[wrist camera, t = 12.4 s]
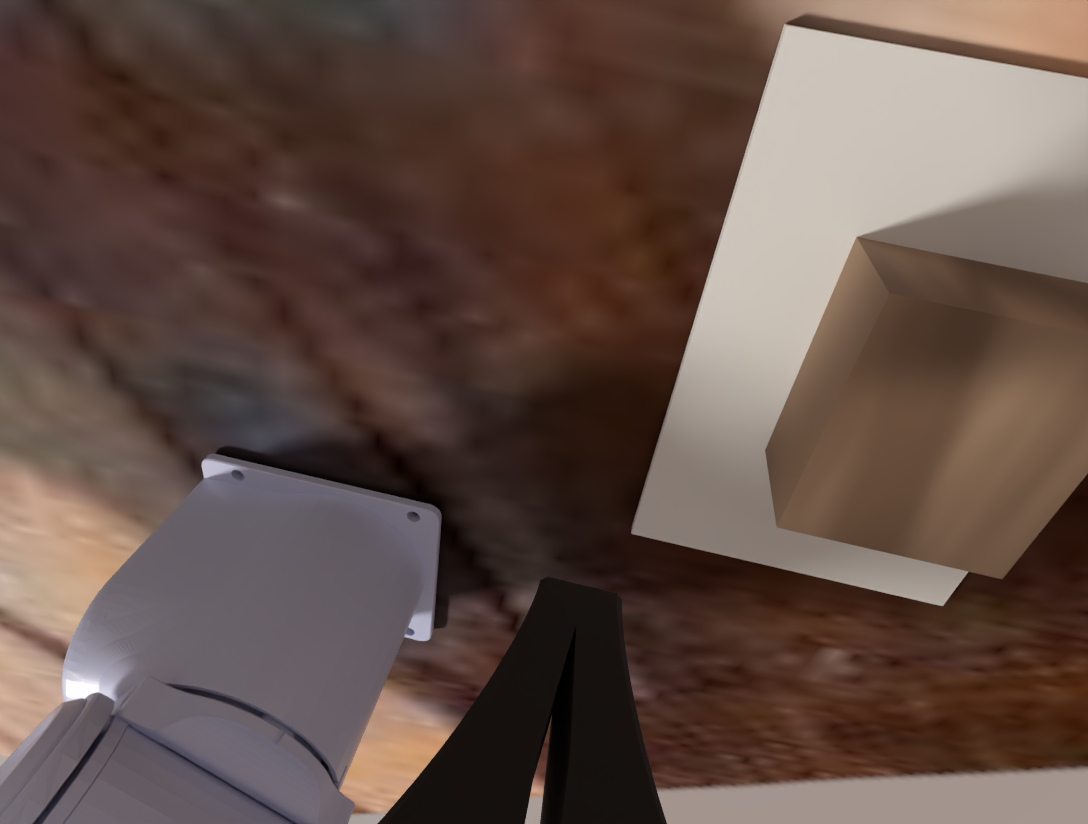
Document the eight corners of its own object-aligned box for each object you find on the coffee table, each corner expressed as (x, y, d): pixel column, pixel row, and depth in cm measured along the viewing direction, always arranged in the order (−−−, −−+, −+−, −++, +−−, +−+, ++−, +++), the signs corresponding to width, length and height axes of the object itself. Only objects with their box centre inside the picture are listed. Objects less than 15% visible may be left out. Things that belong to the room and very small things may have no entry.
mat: (631, 526, 24) (630, 533, 24) (784, 23, 15) (786, 25, 15) (939, 597, 24) (942, 605, 23) (1296, 115, 14) (1310, 118, 14)
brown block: (776, 527, 18) (1002, 579, 18) (889, 293, 14) (1184, 353, 14) (764, 450, 21) (959, 493, 21) (856, 237, 17) (1099, 285, 17)
